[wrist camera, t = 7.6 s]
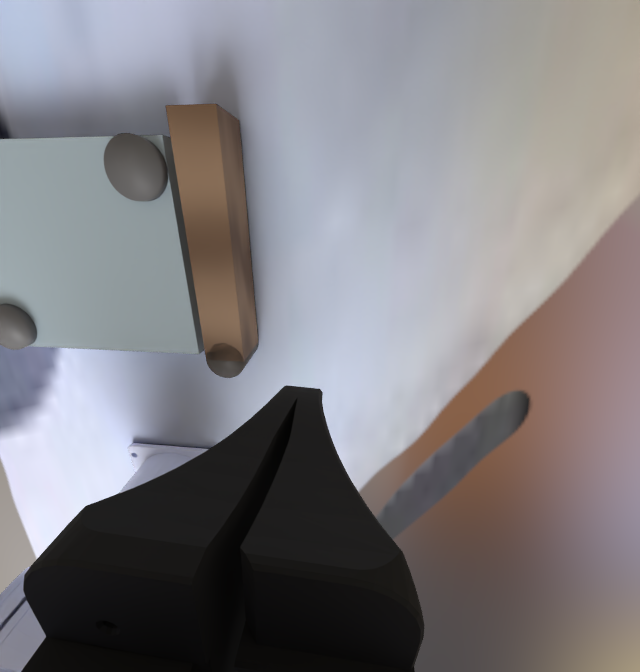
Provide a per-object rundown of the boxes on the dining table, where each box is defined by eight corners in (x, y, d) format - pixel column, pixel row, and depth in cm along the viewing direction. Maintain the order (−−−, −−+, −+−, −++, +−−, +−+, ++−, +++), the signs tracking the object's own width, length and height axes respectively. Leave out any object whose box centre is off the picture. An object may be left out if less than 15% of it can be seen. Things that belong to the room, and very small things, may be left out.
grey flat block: (215, 338, 22) (194, 358, 19) (38, 331, 24) (-6, 348, 21) (187, 143, 18) (154, 132, 15) (-32, 149, 19) (-99, 139, 16)
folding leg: (259, 357, 22) (245, 378, 20) (226, 355, 23) (208, 376, 20) (239, 120, 17) (215, 103, 14) (196, 121, 17) (165, 105, 14)
